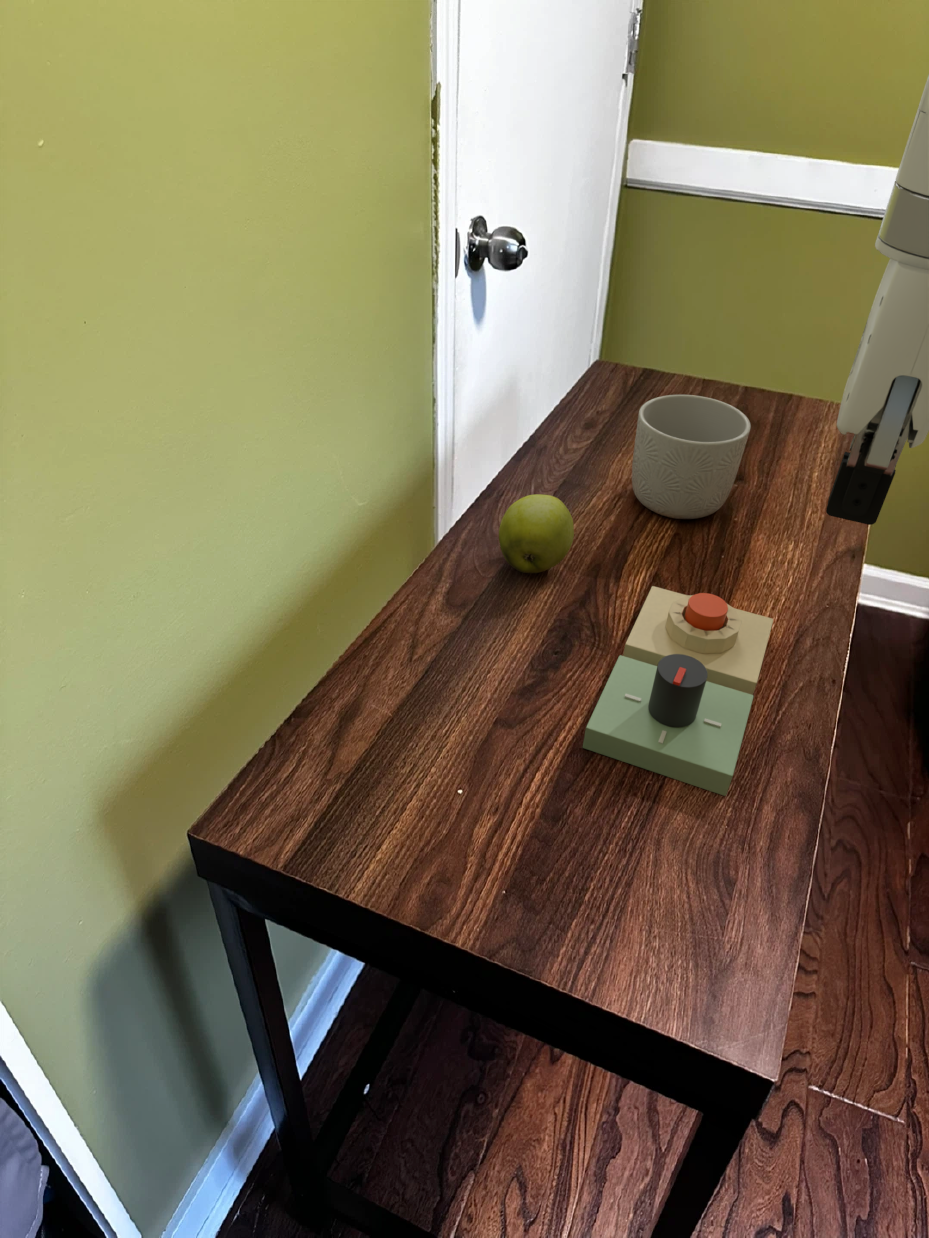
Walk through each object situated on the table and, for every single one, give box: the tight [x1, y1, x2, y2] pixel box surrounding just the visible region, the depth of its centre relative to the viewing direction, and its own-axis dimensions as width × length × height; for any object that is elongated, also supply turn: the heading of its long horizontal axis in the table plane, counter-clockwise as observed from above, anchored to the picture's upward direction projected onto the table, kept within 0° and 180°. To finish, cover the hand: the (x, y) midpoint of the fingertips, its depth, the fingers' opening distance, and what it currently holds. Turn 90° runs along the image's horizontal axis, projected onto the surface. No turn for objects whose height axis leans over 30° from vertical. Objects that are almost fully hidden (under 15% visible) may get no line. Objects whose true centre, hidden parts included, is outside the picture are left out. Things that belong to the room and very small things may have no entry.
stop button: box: [685, 592, 728, 631], centre depth 79 cm, size 4×4×2 cm
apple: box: [498, 493, 575, 574], centre depth 90 cm, size 8×9×8 cm
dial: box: [648, 654, 708, 728], centre depth 70 cm, size 4×4×5 cm
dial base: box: [582, 654, 755, 797], centre depth 73 cm, size 12×10×3 cm
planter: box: [631, 394, 752, 520], centre depth 100 cm, size 12×12×11 cm
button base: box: [622, 585, 774, 695], centre depth 81 cm, size 12×10×4 cm
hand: (850, 514), depth 58 cm, fingers closed
